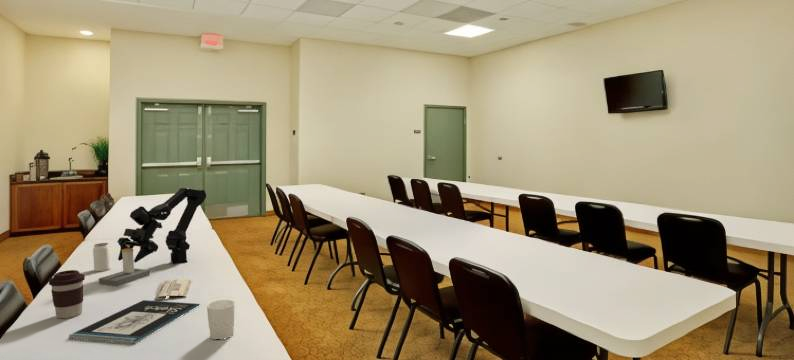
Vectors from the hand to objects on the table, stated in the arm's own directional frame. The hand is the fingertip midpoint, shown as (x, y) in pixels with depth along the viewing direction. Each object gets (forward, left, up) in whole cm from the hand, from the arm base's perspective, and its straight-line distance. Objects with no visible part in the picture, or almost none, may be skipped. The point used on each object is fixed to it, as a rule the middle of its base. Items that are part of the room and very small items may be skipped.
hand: (126, 261), depth 195 cm
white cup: (-23, +82, -8) cm, 86 cm away
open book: (-15, +28, -9) cm, 32 cm away
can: (+9, -23, -8) cm, 26 cm away
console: (+1, +1, -8) cm, 8 cm away
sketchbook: (-2, +55, -9) cm, 56 cm away
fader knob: (-1, 0, -5) cm, 5 cm away
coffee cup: (+18, +36, -8) cm, 42 cm away
